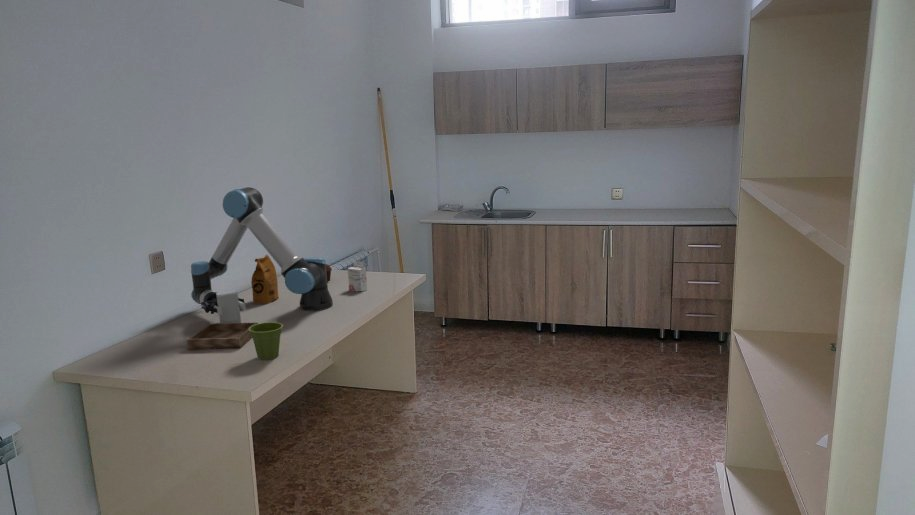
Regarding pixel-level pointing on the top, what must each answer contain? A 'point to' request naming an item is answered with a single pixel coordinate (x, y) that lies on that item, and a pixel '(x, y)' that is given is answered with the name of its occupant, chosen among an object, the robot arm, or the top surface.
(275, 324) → the plant pot
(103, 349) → the top surface
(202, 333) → the walnut tray
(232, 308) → the skincare box
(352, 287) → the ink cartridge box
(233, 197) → the robot arm
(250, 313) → the top surface
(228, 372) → the top surface
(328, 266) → the muffin
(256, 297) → the coffee package
